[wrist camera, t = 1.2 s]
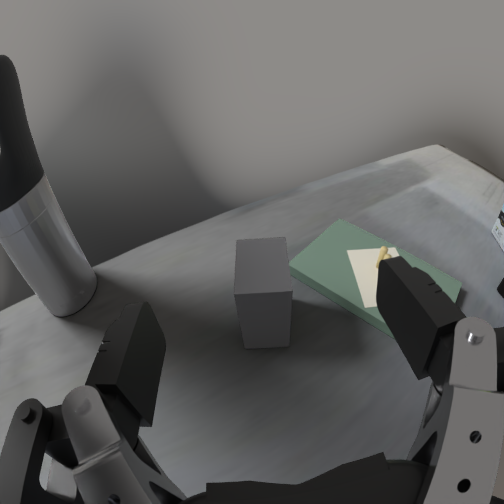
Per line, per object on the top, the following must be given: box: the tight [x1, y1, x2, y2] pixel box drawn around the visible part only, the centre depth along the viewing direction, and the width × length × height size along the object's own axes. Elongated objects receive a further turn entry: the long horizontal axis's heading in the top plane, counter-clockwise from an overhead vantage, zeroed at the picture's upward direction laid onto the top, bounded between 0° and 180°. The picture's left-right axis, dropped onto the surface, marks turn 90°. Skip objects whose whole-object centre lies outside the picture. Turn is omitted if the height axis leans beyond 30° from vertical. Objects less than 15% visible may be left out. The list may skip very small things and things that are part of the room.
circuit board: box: [289, 218, 462, 339], centre depth 32 cm, size 20×12×4 cm, turn 45°
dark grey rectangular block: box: [234, 237, 293, 349], centre depth 28 cm, size 6×4×9 cm
